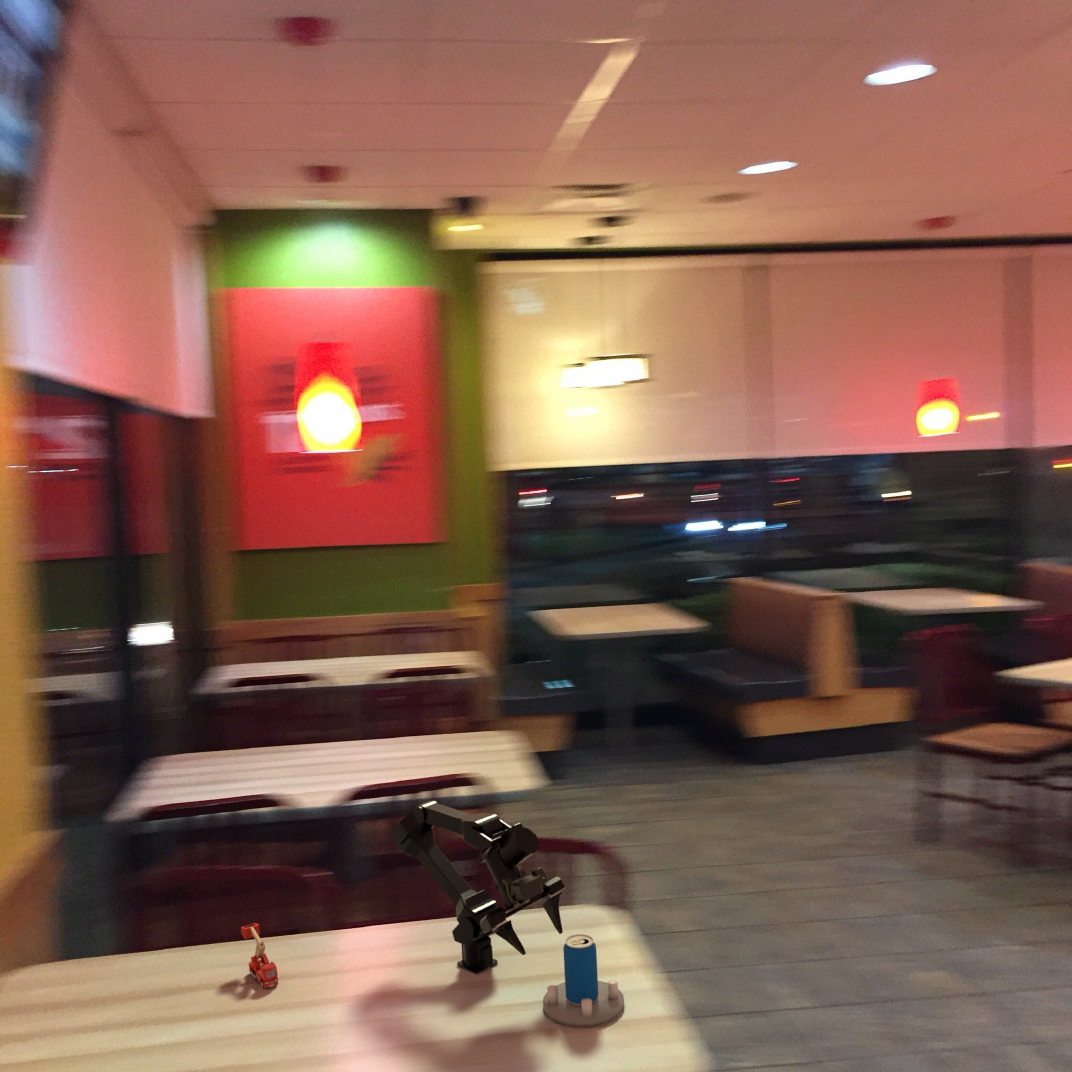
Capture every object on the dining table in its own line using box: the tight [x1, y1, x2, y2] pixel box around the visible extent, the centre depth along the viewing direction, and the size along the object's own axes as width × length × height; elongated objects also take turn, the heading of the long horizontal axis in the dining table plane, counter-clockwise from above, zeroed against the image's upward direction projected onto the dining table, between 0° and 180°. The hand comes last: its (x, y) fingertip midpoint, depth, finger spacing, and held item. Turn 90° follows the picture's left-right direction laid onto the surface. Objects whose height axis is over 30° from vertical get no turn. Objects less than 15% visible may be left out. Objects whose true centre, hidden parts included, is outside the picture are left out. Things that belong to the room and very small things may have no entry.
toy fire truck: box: [240, 922, 279, 989], centre depth 224 cm, size 3×14×10 cm, turn 34°
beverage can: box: [563, 933, 599, 1006], centre depth 206 cm, size 6×6×12 cm
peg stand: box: [542, 979, 625, 1029], centre depth 206 cm, size 16×16×4 cm
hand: (543, 943), depth 211 cm, fingers open, 9 cm apart
